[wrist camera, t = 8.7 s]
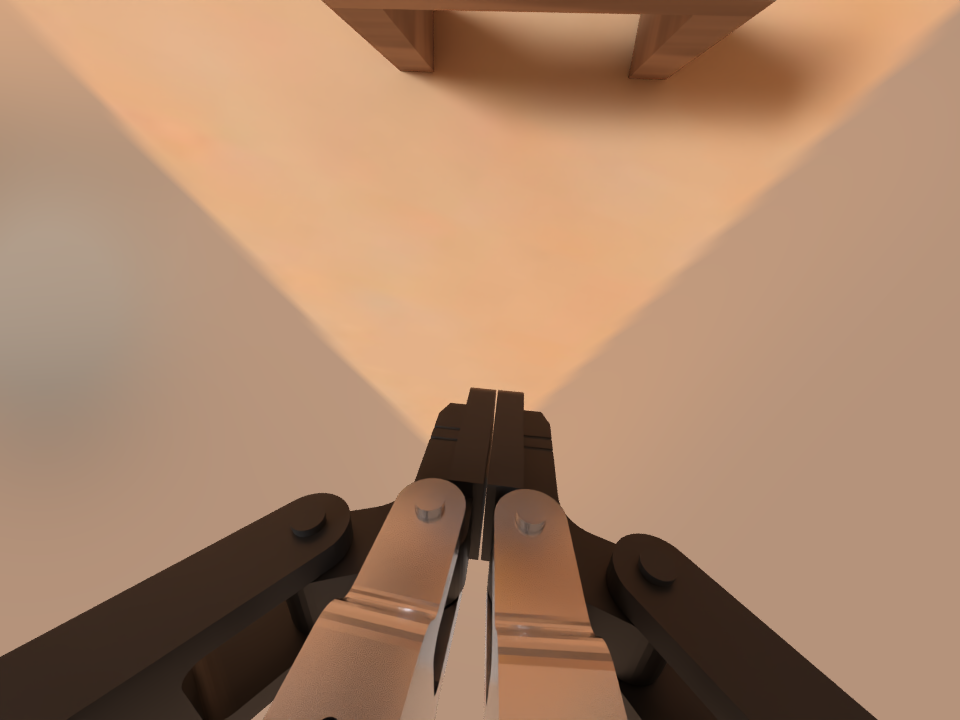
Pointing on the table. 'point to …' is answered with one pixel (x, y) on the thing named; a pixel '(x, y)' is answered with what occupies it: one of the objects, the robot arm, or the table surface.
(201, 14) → the table surface
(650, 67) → the bridge
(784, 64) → the table surface
